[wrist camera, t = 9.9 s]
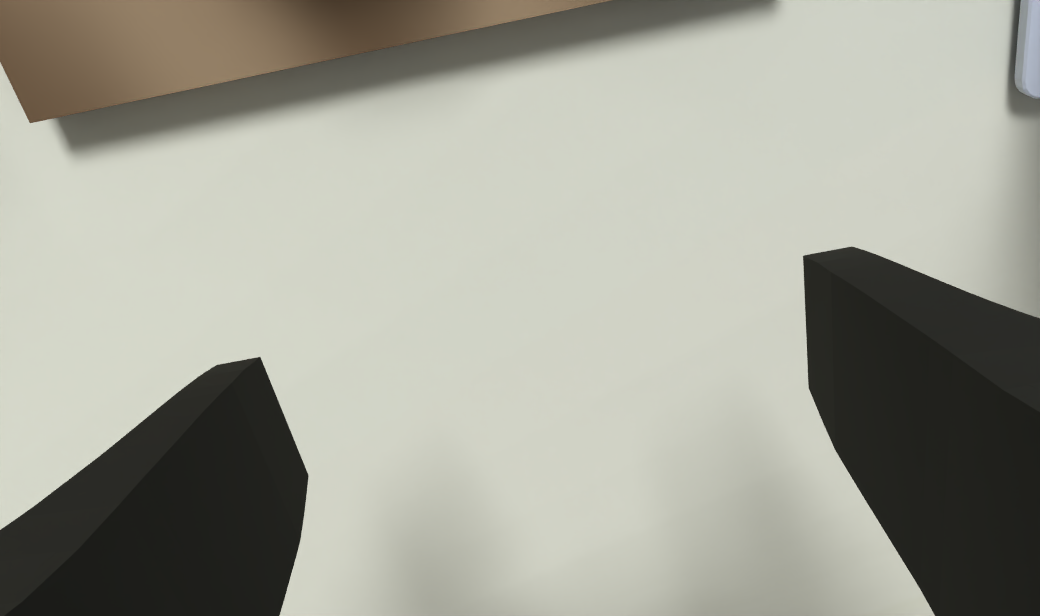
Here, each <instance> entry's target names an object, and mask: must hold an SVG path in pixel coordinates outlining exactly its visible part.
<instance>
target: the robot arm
mask: <svg viewBox="0 0 1040 616" xmlns="http://www.w3.org/2000/svg"><path fill="white" fill-rule="evenodd" d="M1015 85H1016V87H1017V88H1018V90H1019V91H1020V92H1021V93H1024V94H1026V95H1028V96H1030V97H1032V98H1034V99H1040V0H1021V4H1020V16H1019V28H1018V41H1017V53H1016V65H1015ZM803 263H804V287H805V310H806V334H807V358H808V382H809V390H810V392H811V394H812V397H813V399H814V402H815V404H816V406H817V409H818V411H819V414H820V416H821V419H822V421H823V423H824V426H825V428H826V430H827V432H828V435H829V437H830V439H831V441H832V444H833V446H834V448H835V450H836V452H837V454H838V455H839V457H840V459H841V460H842V462H843V464H844V465H845V467H846V469H847V470H848V472H849V474H850V475H851V477H852V479H853V480H854V482H855V484H856V485H857V487H858V489H859V490H860V492H861V493H862V495H863V497H864V498H865V500H866V502H867V503H868V505H869V507H870V508H871V510H872V511H873V513H874V515H875V516H876V518H877V519H878V521H879V523H880V524H881V526H882V528H883V529H884V531H885V532H886V534H887V536H888V537H889V539H890V541H891V542H892V544H893V545H894V547H895V549H896V550H897V552H898V554H899V555H900V557H901V558H902V560H903V562H904V563H905V565H906V567H907V568H908V570H909V571H910V573H911V575H912V576H913V578H914V579H915V581H916V583H917V584H918V586H919V588H920V589H921V591H922V593H923V595H924V596H925V598H926V600H927V602H928V604H929V605H930V607H931V609H932V611H933V613H934V614H935V616H1040V319H1039V318H1037V317H1034V316H1031V315H1028V314H1025V313H1022V312H1019V311H1016V310H1013V309H1011V308H1008V307H1005V306H1003V305H1000V304H997V303H995V302H992V301H989V300H987V299H984V298H981V297H979V296H976V295H974V294H971V293H969V292H966V291H964V290H961V289H959V288H956V287H954V286H951V285H949V284H946V283H944V282H942V281H939V280H937V279H934V278H932V277H929V276H927V275H925V274H922V273H920V272H917V271H915V270H913V269H910V268H908V267H905V266H903V265H901V264H898V263H896V262H893V261H891V260H888V259H886V258H883V257H881V256H878V255H876V254H873V253H870V252H867V251H865V250H861V249H858V248H855V247H847V248H842V249H837V250H831V251H826V252H821V253H815V254H810V255H805V256H803ZM307 484H308V473H307V471H306V468H305V466H304V463H303V461H302V459H301V456H300V454H299V451H298V449H297V446H296V444H295V441H294V439H293V436H292V434H291V431H290V429H289V427H288V424H287V422H286V419H285V417H284V414H283V412H282V409H281V407H280V404H279V402H278V400H277V397H276V395H275V392H274V390H273V387H272V385H271V382H270V380H269V377H268V375H267V372H266V370H265V368H264V365H263V363H262V360H261V358H260V357H258V358H252V359H247V360H242V361H236V362H231V363H226V364H220V365H216V366H215V367H213V368H211V369H210V370H208V371H206V372H205V373H203V374H202V375H201V376H199V377H198V378H196V379H195V380H194V381H192V382H191V383H190V384H188V385H187V386H186V387H184V388H183V389H182V390H181V391H179V392H178V393H177V394H176V395H174V396H173V397H172V398H171V399H169V400H168V401H167V402H166V403H164V404H163V405H162V406H161V407H159V408H158V409H157V410H156V411H155V412H153V413H152V414H151V415H150V416H148V417H147V418H146V419H145V420H144V421H142V422H141V423H140V424H139V425H137V426H136V427H135V428H134V429H133V430H131V431H130V432H129V433H128V434H126V435H125V436H124V437H123V438H122V439H120V440H119V441H118V442H117V443H115V444H114V445H113V446H112V447H111V448H109V449H108V450H107V451H106V452H104V453H103V454H102V455H101V456H99V457H98V458H97V459H95V460H94V461H93V462H92V463H90V464H89V465H88V466H86V467H85V468H84V469H82V470H81V471H80V472H78V473H77V474H76V475H75V476H73V477H72V478H71V479H69V480H68V481H67V482H65V483H64V484H63V485H61V486H60V487H59V488H58V489H56V490H55V491H54V492H52V493H51V494H50V495H48V496H47V497H46V498H44V499H43V500H42V501H41V502H39V503H38V504H37V505H35V506H34V507H32V508H31V509H30V510H28V511H27V512H25V513H24V514H23V515H21V516H20V517H18V518H17V519H16V520H14V521H13V522H11V523H10V524H8V525H7V526H5V527H4V528H3V529H1V530H0V616H279V615H280V612H281V608H282V605H283V601H284V598H285V594H286V591H287V587H288V584H289V580H290V576H291V573H292V569H293V566H294V562H295V558H296V555H297V551H298V547H299V543H300V538H301V531H302V525H303V518H304V511H305V502H306V493H307Z"/></svg>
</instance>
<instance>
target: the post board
mask: <svg viewBox="0 0 1040 616" xmlns="http://www.w3.org/2000/svg"><path fill="white" fill-rule="evenodd" d="M606 1H611V0H0V62H1V64H2V66H3V68H4V70H5V73H6V75H7V77H8V79H9V81H10V83H11V85H12V87H13V89H14V91H15V93H16V95H17V97H18V99H19V101H20V103H21V106H22V108H23V110H24V112H25V114H26V116H27V118H28V120H29V122H30V123H33V122H38V121H43V120H47V119H52V118H57V117H62V116H66V115H71V114H76V113H81V112H85V111H90V110H95V109H100V108H104V107H109V106H114V105H118V104H123V103H128V102H133V101H137V100H142V99H147V98H152V97H156V96H161V95H166V94H171V93H175V92H180V91H185V90H190V89H194V88H199V87H204V86H208V85H213V84H218V83H223V82H227V81H232V80H237V79H242V78H246V77H251V76H256V75H261V74H265V73H270V72H275V71H280V70H284V69H289V68H294V67H298V66H303V65H308V64H313V63H317V62H322V61H327V60H332V59H336V58H341V57H346V56H351V55H355V54H360V53H365V52H370V51H374V50H379V49H384V48H389V47H393V46H398V45H403V44H407V43H412V42H417V41H422V40H426V39H431V38H436V37H441V36H445V35H450V34H455V33H460V32H464V31H469V30H474V29H479V28H483V27H488V26H493V25H497V24H502V23H507V22H512V21H516V20H521V19H526V18H531V17H535V16H540V15H545V14H550V13H554V12H559V11H564V10H569V9H573V8H578V7H583V6H588V5H592V4H597V3H602V2H606Z"/></svg>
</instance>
